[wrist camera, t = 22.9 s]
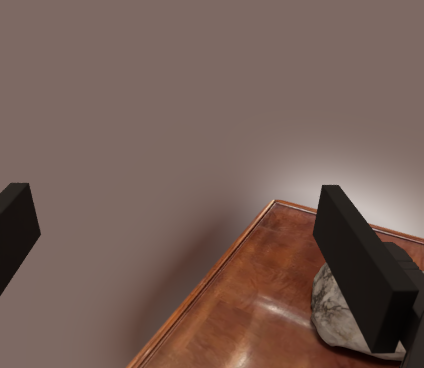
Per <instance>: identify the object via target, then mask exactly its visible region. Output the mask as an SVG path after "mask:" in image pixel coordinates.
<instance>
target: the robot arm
mask: <svg viewBox="0 0 424 368" xmlns="http://www.w3.org/2000/svg"><path fill="white" fill-rule="evenodd" d="M40 235H41V233H40V229H39V224H38V220H37V216H36V212H35V207H34V203H33V199H32V195H31V190H30V186H29V183H10V184H9V185H8V186H7V187H6V188H5V189H4V190H3V191H2V192H1V193H0V296H1V294H2V293H3V291H4V289H5V288H6V287H7V285H8V283H9V282H10V280H11V279H12V277H13V276H14V274H15V273H16V271H17V270H18V268H19V267H20V265H21V264H22V262H23V261H24V259H25V258H26V256H27V255H28V253H29V252H30V250H31V249H32V247H33V246H34V244H35V243H36V241H37V240H38V238H39V237H40ZM313 236H314V238H315V240H316V242H317V244H318V246H319V248H320V250H321V252H322V254H323V256H324V258H325V260H326V263H327V265H328V267H329V269H330V271H331V273H332V275H333V277H334V279H335V281H336V283H337V285H338V287H339V289H340V291H341V293H342V295H343V297H344V299H345V301H346V303H347V305H348V307H349V309H350V311H351V313H352V315H353V317H354V319H355V321H356V323H357V325H358V327H359V329H360V331H361V333H362V335H363V337H364V339H365V341H366V343H367V346H368V348H369V350H370V352H371V354H386V353H395V350H396V348H397V345H398V343H399V340H400V342H401V344H402V346H403V347H404V349H405V351H406V353H405V355H404V358H403V360H402V362H401V365H400V367H399V368H424V273H423V272H422V271H421V270H419V267H418V266H417V265H416V263H415V262H413V260H412V259H411V257H410V256H409V255H408V254H407V253H406V251H405V250H403V249H402V248H400V247H399V246H398V245H396V244H395V243H393V242H382V241H381V240H380V238H379V237H378V236H377V235H376V233H375V232H374V231H373V229H372V228H371V227H370V225H369V224H368V223H367V222H366V220H365V219H364V218H363V216H362V215H361V214H360V212H359V211H358V210H357V208H356V207H355V206H354V205H353V203H352V202H351V201H350V199H349V198H348V197H347V196H346V194H345V193H344V192H343V190H342V189H341V188H340V186H339V185H322V189H321V194H320V199H319V204H318V209H317V214H316V220H315V225H314V230H313Z"/></svg>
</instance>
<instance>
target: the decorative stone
mask: <svg viewBox="0 0 424 368" xmlns="http://www.w3.org/2000/svg"><path fill="white" fill-rule="evenodd" d="M422 272H423V273H424V271H422ZM312 287H313V293H312V303H311V305H312V309H313V310H312V315H311V319H312V321H313V323H314V324H315V326H316V327H317V332H318V334H319V335H320V336H321V338H322V339H323V340H324V341H325V342H326V343H327V344H329V345H330V346H341V347H346V348H349V349H352V350H356V351H359V352H362V353H365V354H368V355H372V356H375V357H378V358H381V359H386V360H398V361H402V360H403V358H404V355H405V353H406V351H405V349H404V347H403V346H402V344H401V342H400V340H399V343H398V345H397V348H396V350H395V353H386V354H371V352H370V350H369V348H368V346H367V343H366V341H365V339H364V337H363V335H362V333H361V331H360V329H359V327H358V325H357V323H356V321H355V319H354V317H353V315H352V313H351V311H350V309H349V307H348V305H347V303H346V301H345V299H344V297H343V295H342V293H341V291H340V289H339V287H338V285H337V283H336V281H335V279H334V277H333V275H332V273H331V271H330V269H329V267H328V265H327V263H325V264H324V265H323V266H322V267H321V269H320V271H319V272H318V273H317V274H316V276H315V278H314V281H313V286H312Z"/></svg>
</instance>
